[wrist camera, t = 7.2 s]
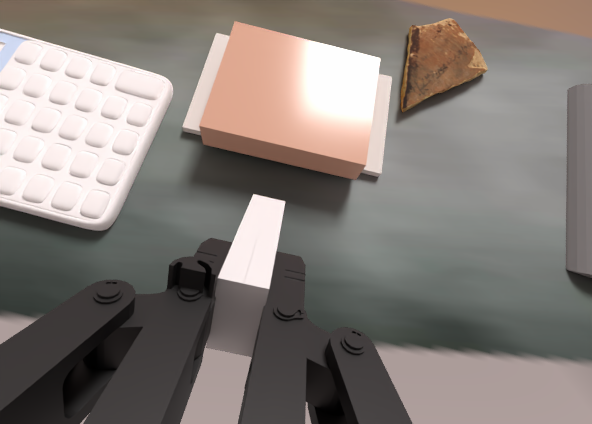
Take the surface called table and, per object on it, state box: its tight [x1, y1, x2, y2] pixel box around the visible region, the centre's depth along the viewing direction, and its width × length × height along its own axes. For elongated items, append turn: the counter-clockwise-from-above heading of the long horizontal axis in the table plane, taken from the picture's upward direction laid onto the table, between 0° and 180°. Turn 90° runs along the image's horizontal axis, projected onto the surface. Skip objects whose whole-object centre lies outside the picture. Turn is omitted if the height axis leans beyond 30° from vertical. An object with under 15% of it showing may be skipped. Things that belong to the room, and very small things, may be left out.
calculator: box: [0, 29, 173, 231], centre depth 26 cm, size 13×20×2 cm, turn 76°
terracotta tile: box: [199, 21, 380, 180], centre depth 27 cm, size 12×3×10 cm
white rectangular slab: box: [183, 33, 392, 177], centre depth 29 cm, size 16×10×1 cm, turn 79°
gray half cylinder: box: [566, 84, 592, 278], centre depth 31 cm, size 4×20×2 cm, turn 163°
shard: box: [401, 18, 487, 113], centre depth 33 cm, size 11×8×2 cm
